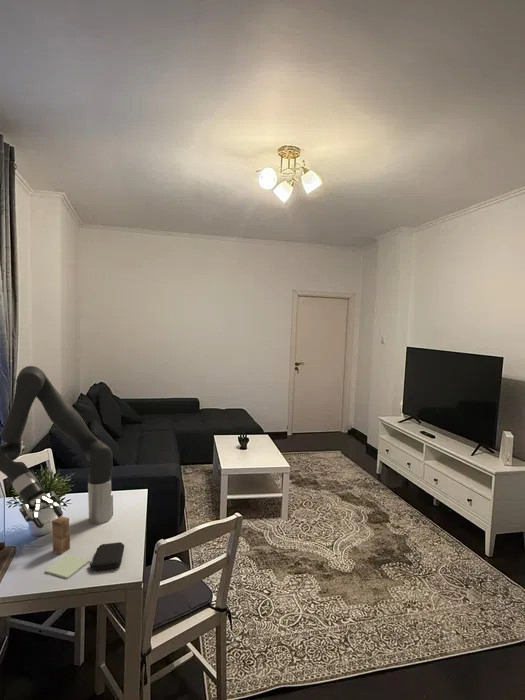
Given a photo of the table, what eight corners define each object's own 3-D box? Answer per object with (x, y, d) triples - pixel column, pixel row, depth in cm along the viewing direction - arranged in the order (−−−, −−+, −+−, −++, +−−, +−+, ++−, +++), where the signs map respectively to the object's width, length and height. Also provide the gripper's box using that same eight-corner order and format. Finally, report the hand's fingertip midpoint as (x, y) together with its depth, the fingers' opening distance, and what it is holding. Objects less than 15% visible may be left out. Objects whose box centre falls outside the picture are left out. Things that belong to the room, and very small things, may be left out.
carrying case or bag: (95, 550, 150) (87, 575, 136) (94, 543, 150) (87, 566, 136) (124, 547, 153) (120, 571, 138) (124, 539, 152) (120, 562, 138)
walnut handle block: (61, 546, 152) (60, 516, 151) (70, 548, 151) (69, 518, 150) (53, 552, 148) (52, 521, 147) (61, 554, 147) (60, 523, 146)
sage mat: (67, 556, 146) (67, 554, 146) (89, 561, 143) (89, 560, 143) (44, 572, 137) (44, 570, 137) (67, 578, 133) (67, 577, 133)
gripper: (16, 489, 145) (41, 525, 142) (48, 474, 159) (72, 507, 156) (5, 500, 147) (30, 536, 144) (38, 485, 161) (61, 518, 158)
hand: (51, 521), depth 150 cm, fingers open, 8 cm apart
